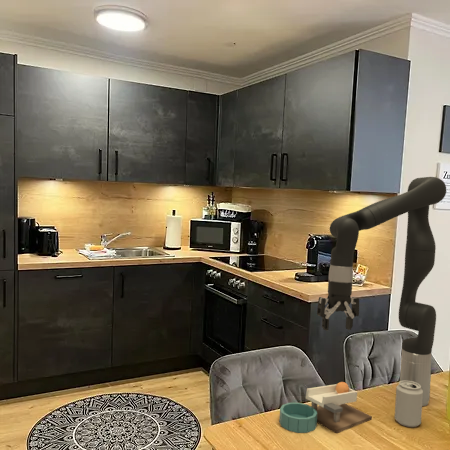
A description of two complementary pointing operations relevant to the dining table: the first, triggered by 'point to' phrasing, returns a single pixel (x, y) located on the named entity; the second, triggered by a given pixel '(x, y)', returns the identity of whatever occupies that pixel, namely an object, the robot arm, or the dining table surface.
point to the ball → (342, 387)
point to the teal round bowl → (298, 417)
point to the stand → (340, 417)
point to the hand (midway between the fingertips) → (337, 329)
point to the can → (408, 403)
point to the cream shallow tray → (330, 397)
